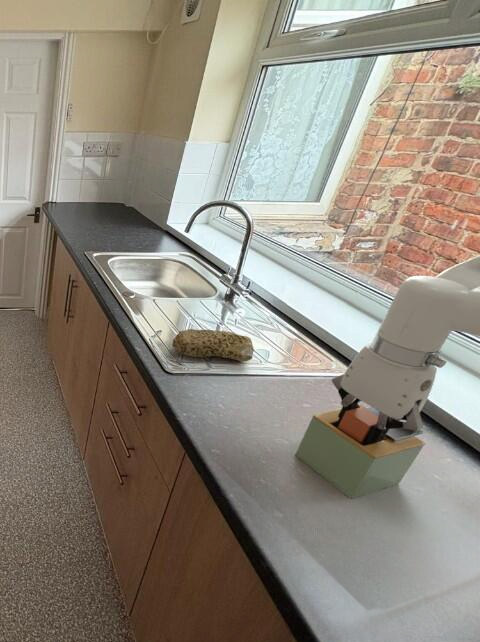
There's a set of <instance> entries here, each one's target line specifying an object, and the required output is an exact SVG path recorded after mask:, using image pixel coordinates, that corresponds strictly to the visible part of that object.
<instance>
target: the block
mask: <svg viewBox="0 0 480 642" xmlns="http://www.w3.org/2000/svg"><path fill="white" fill-rule="evenodd" d="M377 420H378V416H376V415H374V414H373V413H371V412H369V411H368V410H366V409H364V408H363V407H361V408H357V409H353V410H349V411H346V412H345V414H344V416H343V418H342V420H341V422H340V424H339V426H338V428H339V429H341V430H342V431H344V432H345V433H347V434H348V435H350V436H351V437H353V438H354V439H356V440H357V441H359V442H364V439H365V437H366V435H367V433H368V432H369V430H370V428H371V426H372V425H375V424H376V423H377Z"/></svg>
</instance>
